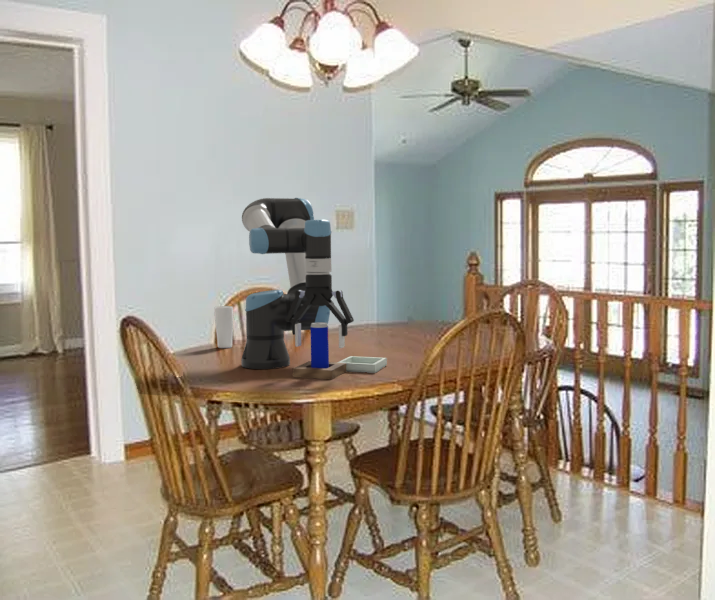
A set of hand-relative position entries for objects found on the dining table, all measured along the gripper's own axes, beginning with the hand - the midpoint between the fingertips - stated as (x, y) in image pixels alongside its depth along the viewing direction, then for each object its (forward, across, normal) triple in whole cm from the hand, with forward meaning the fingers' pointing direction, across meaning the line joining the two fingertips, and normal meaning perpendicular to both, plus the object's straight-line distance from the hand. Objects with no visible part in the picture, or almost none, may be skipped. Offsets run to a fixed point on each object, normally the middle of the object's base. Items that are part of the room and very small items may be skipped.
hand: (319, 346), depth 203 cm
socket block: (+8, 0, 0) cm, 8 cm away
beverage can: (+8, 0, 0) cm, 8 cm away
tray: (+8, +9, +12) cm, 17 cm away
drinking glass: (+8, -53, +38) cm, 66 cm away
